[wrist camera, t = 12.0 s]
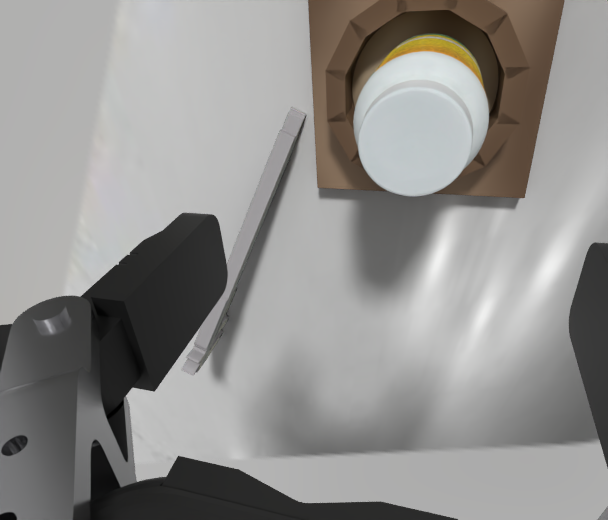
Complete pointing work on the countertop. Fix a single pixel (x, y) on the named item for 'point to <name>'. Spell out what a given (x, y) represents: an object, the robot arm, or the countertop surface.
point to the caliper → (246, 239)
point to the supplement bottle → (421, 115)
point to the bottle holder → (484, 47)
